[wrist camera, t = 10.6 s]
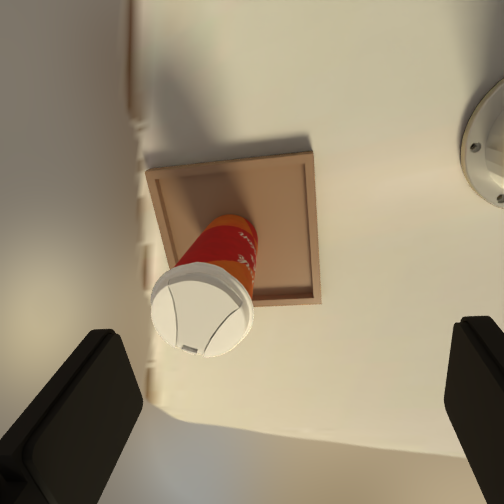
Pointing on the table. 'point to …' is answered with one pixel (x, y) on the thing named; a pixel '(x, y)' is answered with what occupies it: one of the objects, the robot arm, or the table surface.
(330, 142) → the table surface
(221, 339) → the paper cup
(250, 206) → the tray
